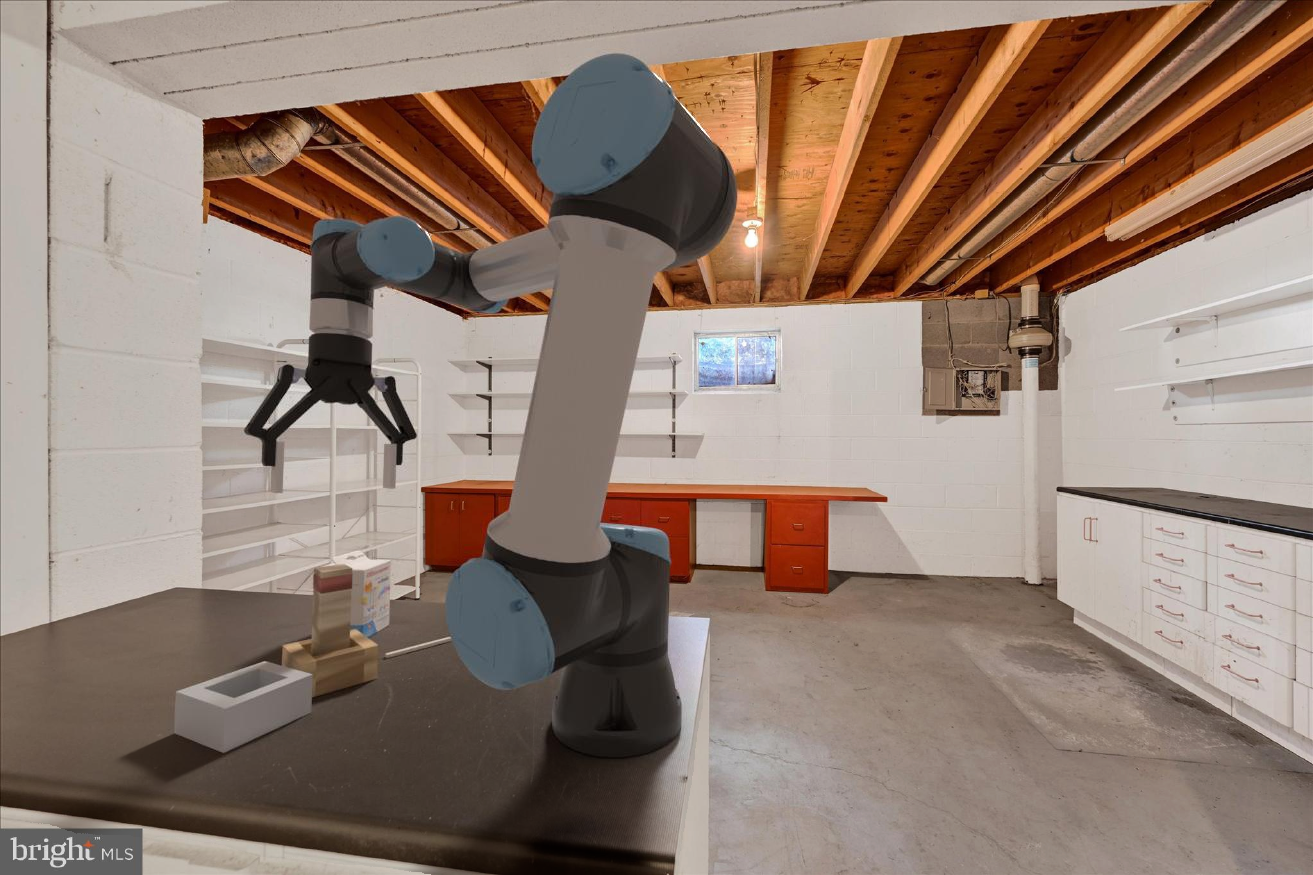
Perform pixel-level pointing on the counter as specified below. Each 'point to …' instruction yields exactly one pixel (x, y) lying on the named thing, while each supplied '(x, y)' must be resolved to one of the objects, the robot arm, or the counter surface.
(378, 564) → the ink box
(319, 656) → the wooden square frame
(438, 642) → the thin white stick
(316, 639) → the red-banded tall box
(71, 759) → the counter surface
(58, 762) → the counter surface
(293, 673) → the grey square frame
